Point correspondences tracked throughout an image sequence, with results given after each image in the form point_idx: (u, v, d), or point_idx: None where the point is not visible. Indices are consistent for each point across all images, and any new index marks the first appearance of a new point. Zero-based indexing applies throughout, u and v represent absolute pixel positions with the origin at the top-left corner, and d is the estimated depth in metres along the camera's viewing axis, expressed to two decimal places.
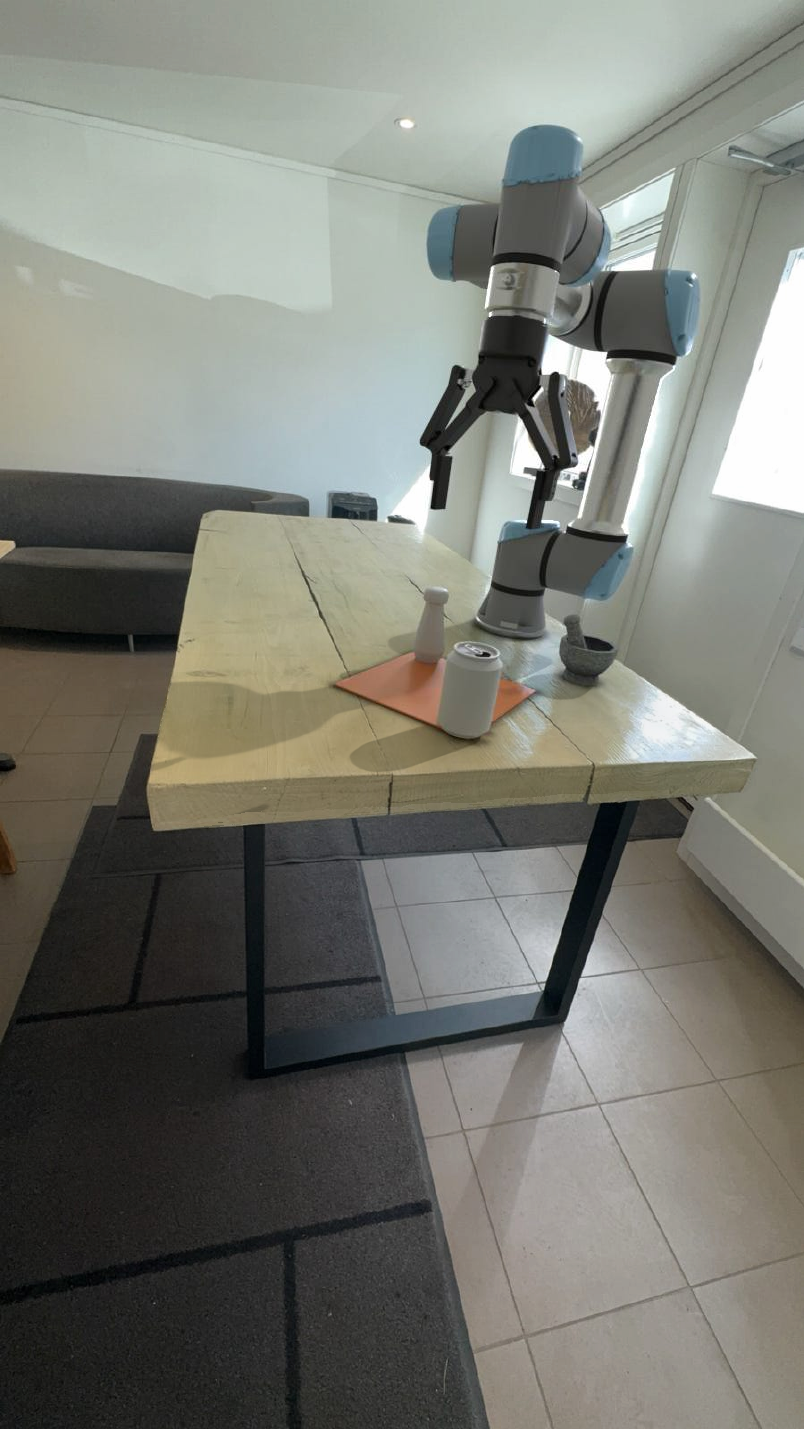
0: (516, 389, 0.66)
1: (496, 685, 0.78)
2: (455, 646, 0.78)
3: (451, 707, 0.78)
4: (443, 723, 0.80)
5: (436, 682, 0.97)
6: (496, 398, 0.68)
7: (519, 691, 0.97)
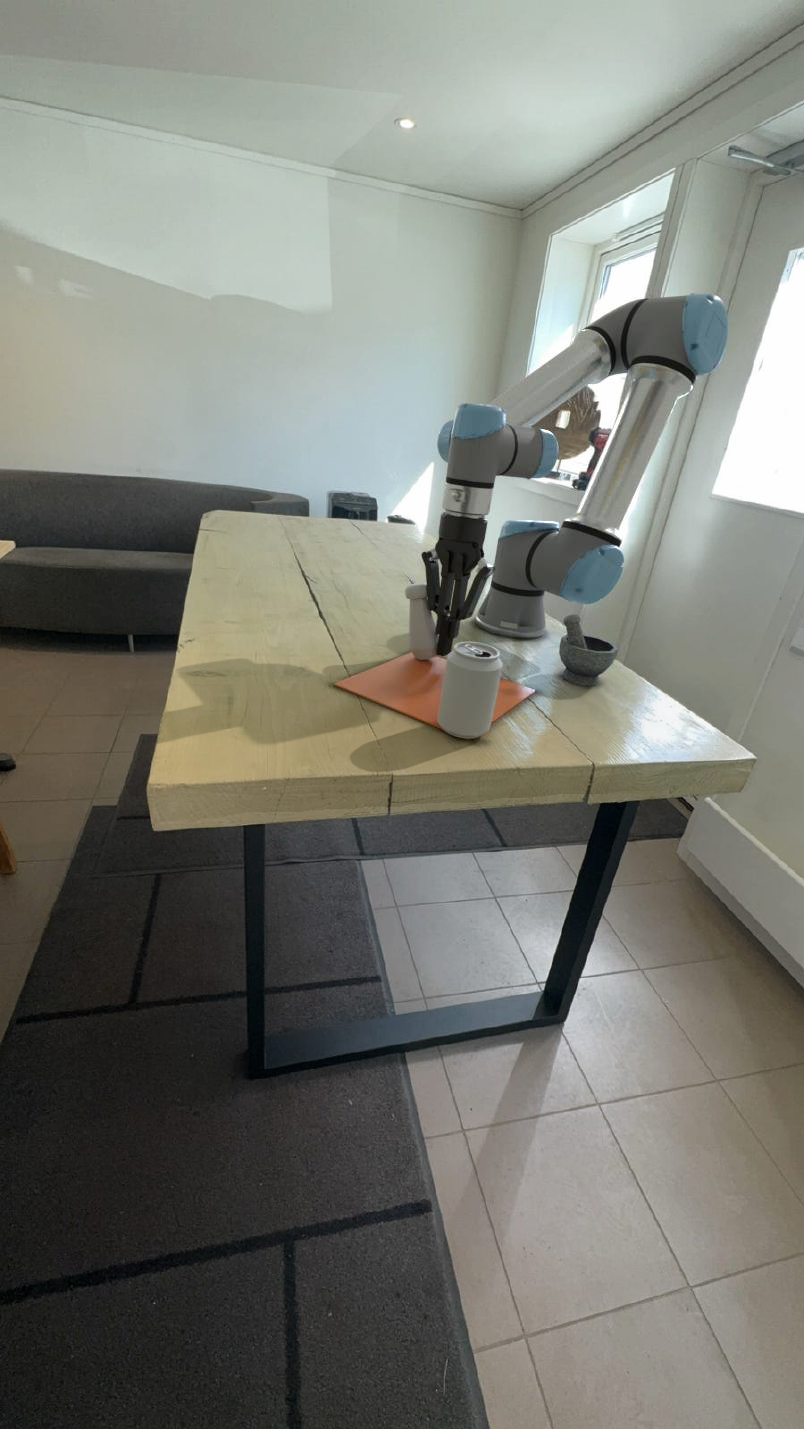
0: (461, 564, 0.94)
1: (496, 685, 0.78)
2: (455, 646, 0.78)
3: (451, 707, 0.78)
4: (443, 723, 0.80)
5: (436, 682, 0.97)
6: (452, 564, 0.96)
7: (519, 691, 0.97)
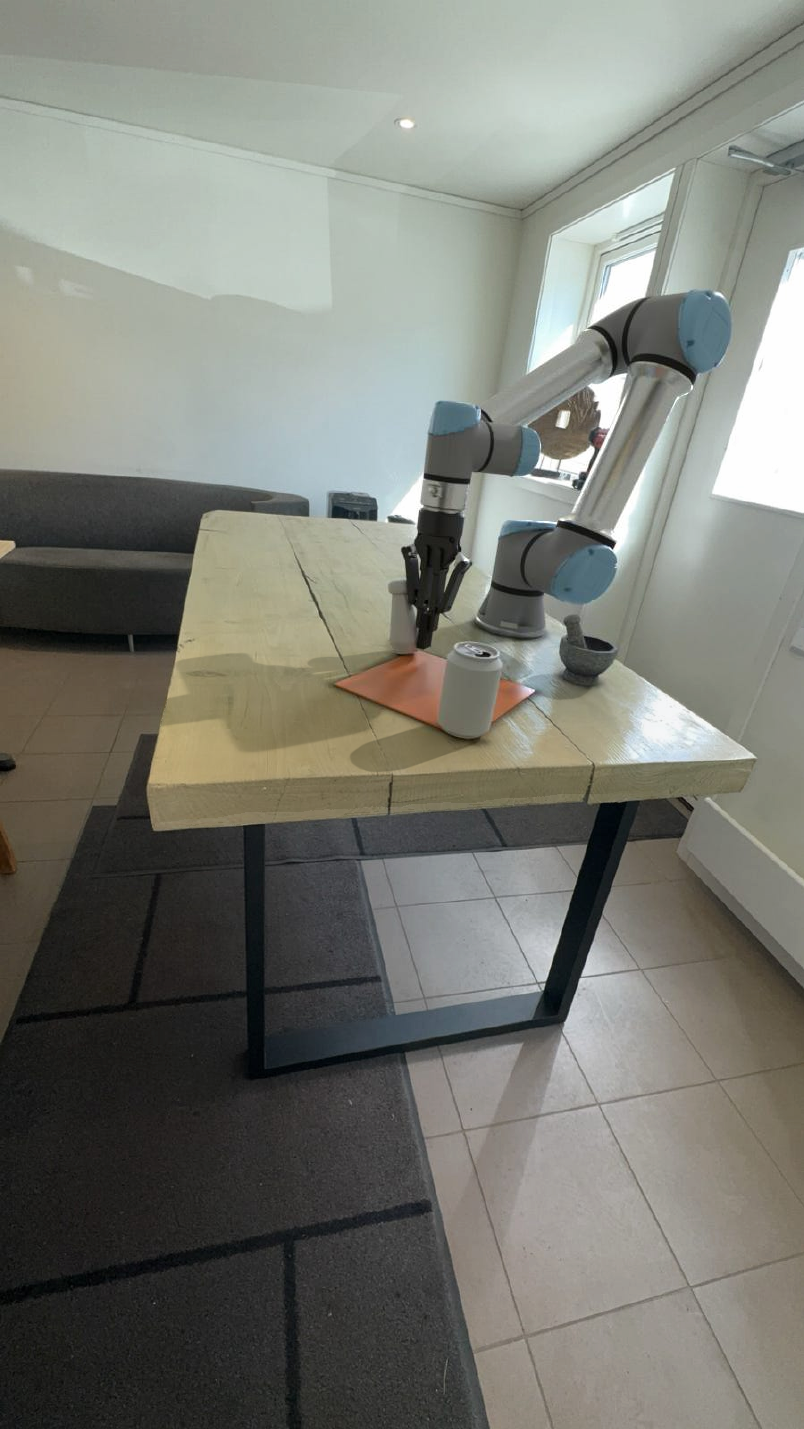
0: (439, 559, 0.96)
1: (496, 685, 0.78)
2: (455, 646, 0.78)
3: (451, 707, 0.78)
4: (443, 723, 0.80)
5: (436, 682, 0.97)
6: (430, 558, 0.98)
7: (519, 691, 0.97)
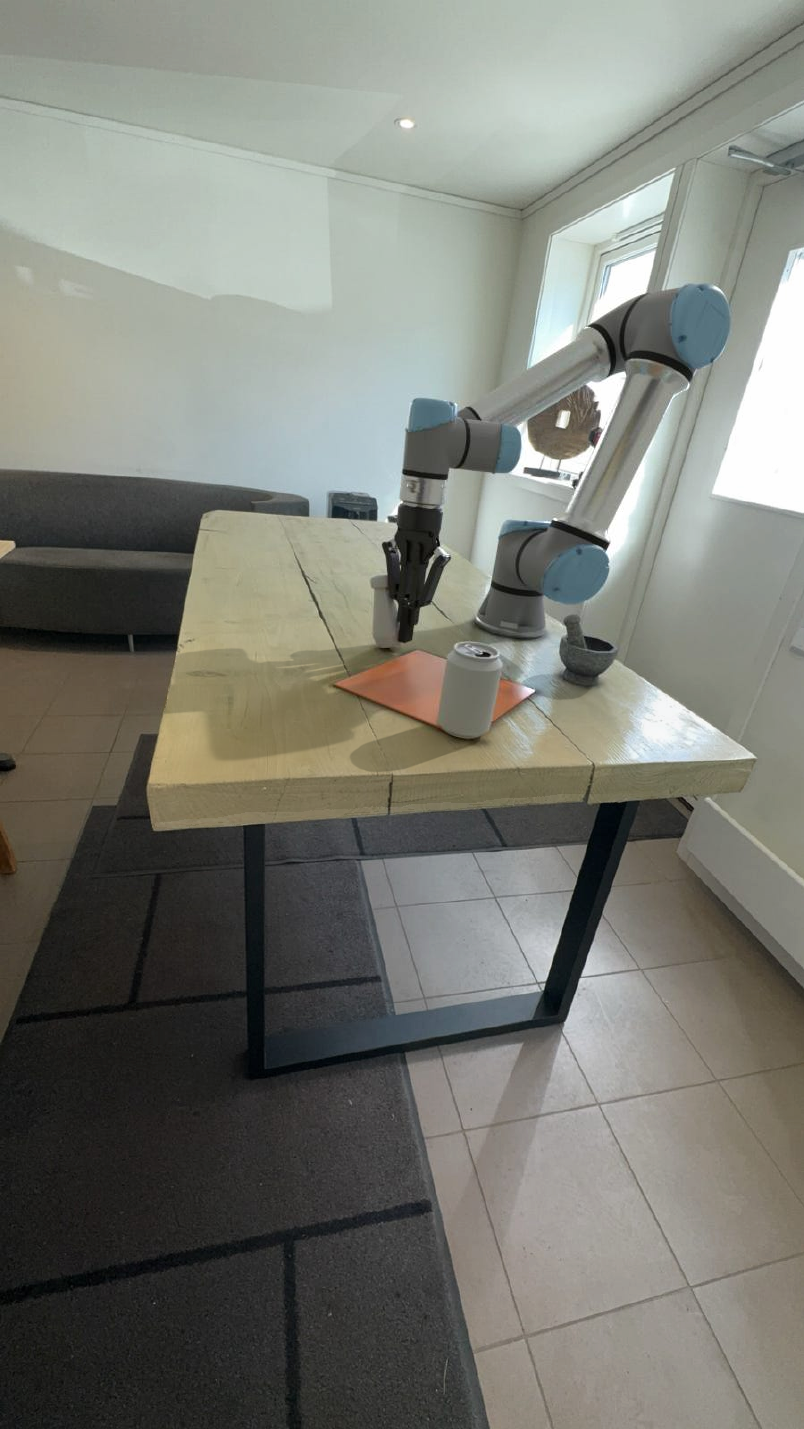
0: (418, 553, 0.98)
1: (496, 685, 0.78)
2: (455, 646, 0.78)
3: (451, 707, 0.78)
4: (443, 723, 0.80)
5: (436, 682, 0.97)
6: (410, 553, 0.99)
7: (519, 691, 0.97)
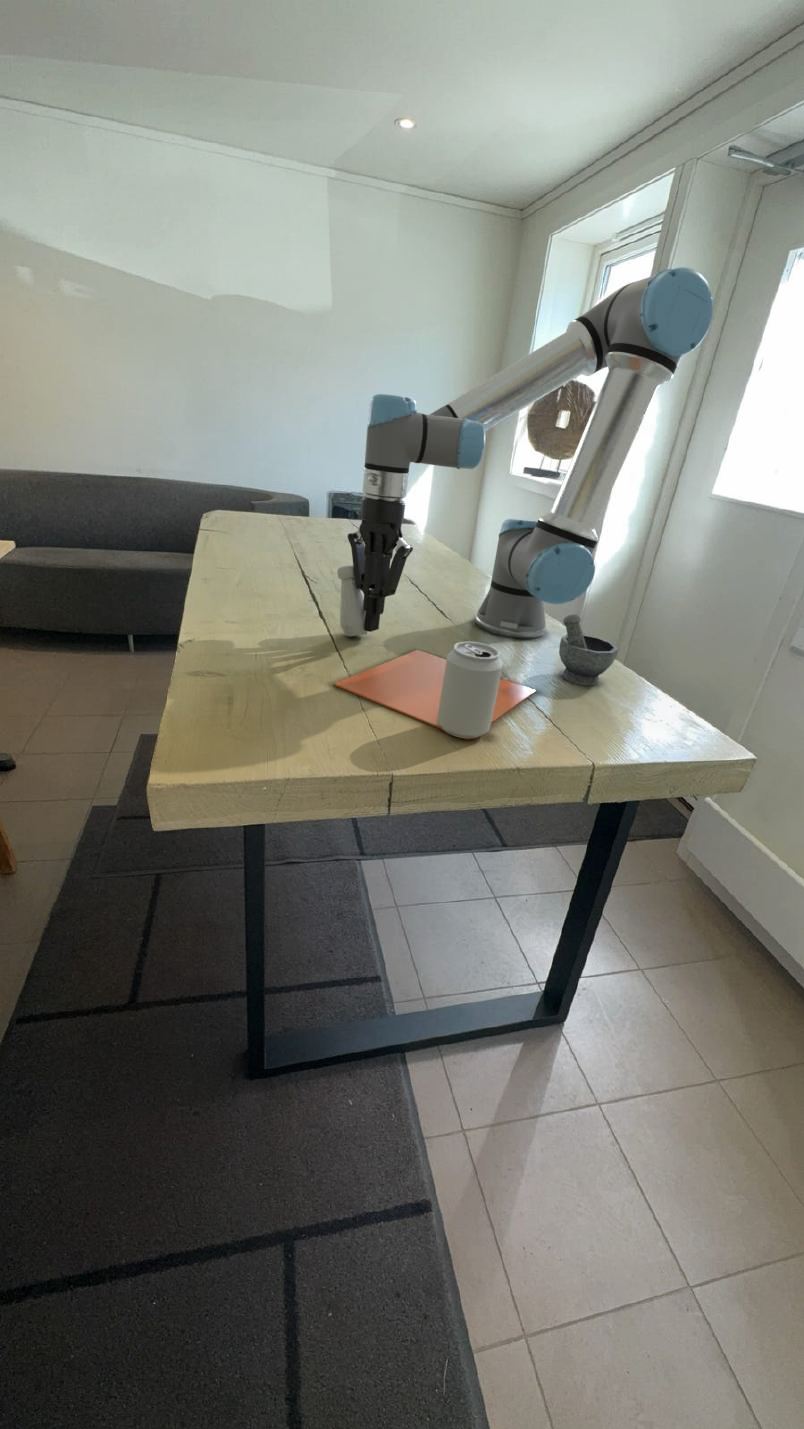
0: (381, 544, 1.01)
1: (496, 685, 0.78)
2: (455, 646, 0.78)
3: (451, 707, 0.78)
4: (443, 723, 0.80)
5: (436, 682, 0.97)
6: (374, 544, 1.03)
7: (519, 691, 0.97)
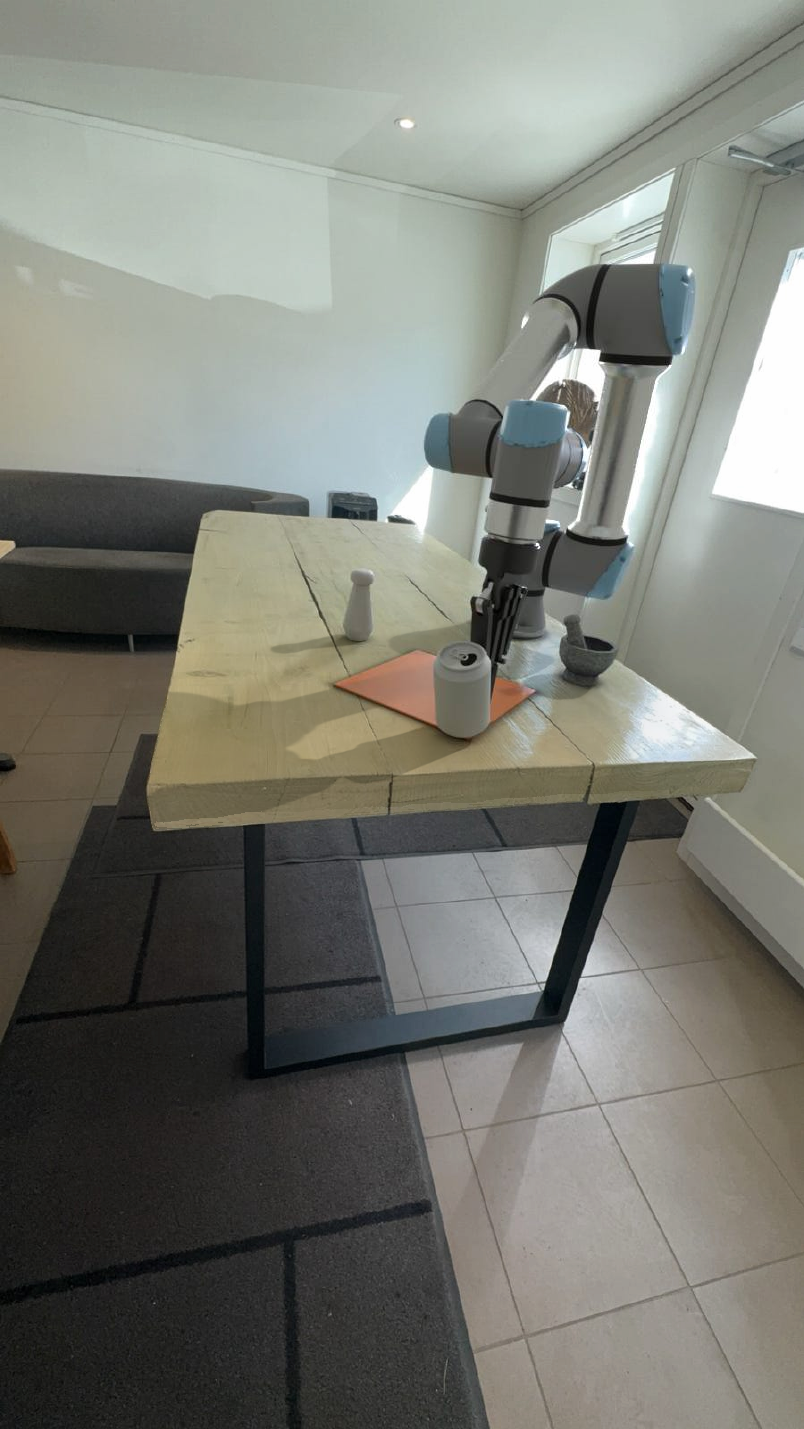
0: None
1: (487, 687, 0.75)
2: (439, 654, 0.75)
3: (445, 714, 0.77)
4: (441, 727, 0.80)
5: None
6: None
7: (519, 691, 0.97)
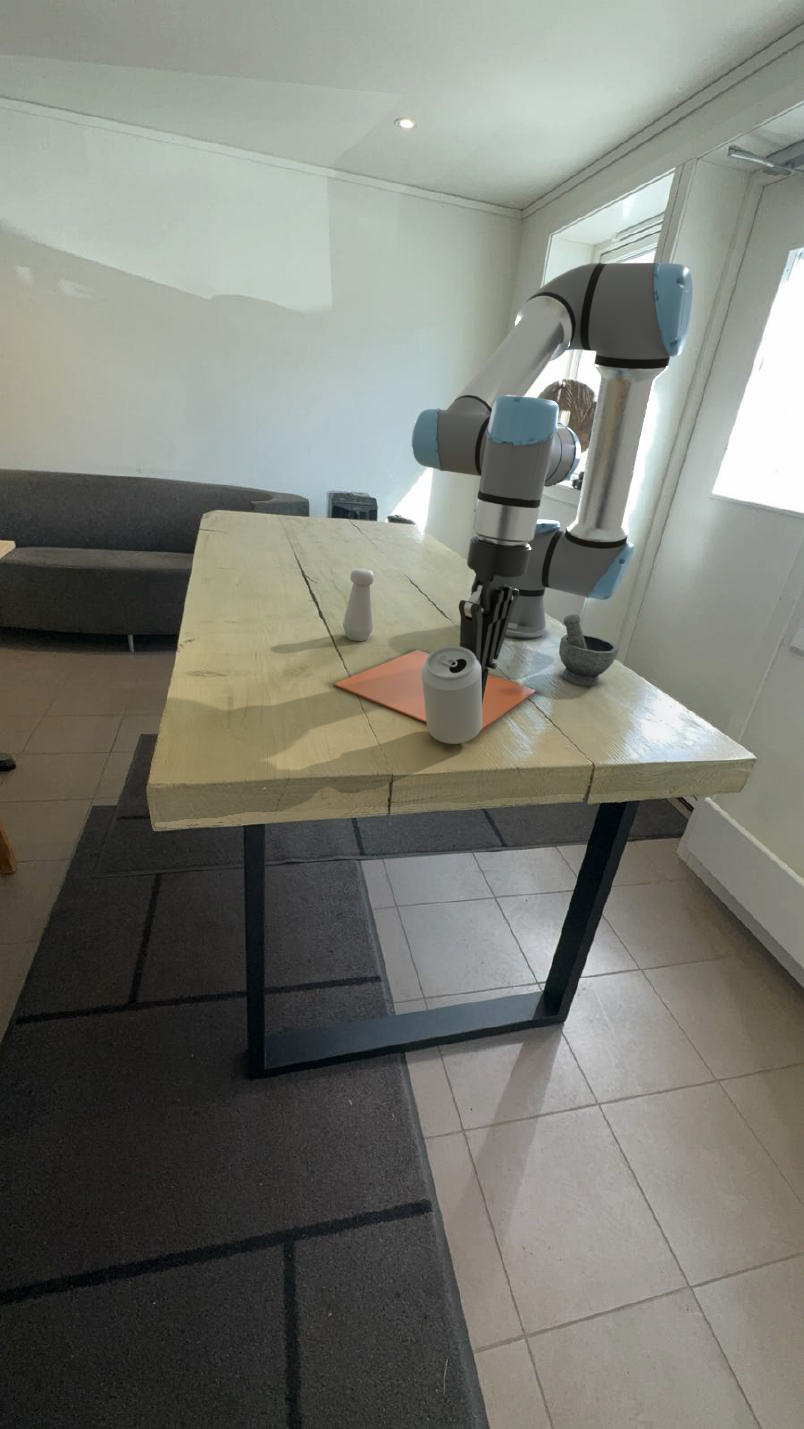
0: None
1: (478, 693, 0.73)
2: (427, 661, 0.73)
3: (436, 721, 0.75)
4: (432, 733, 0.78)
5: None
6: None
7: (519, 691, 0.97)
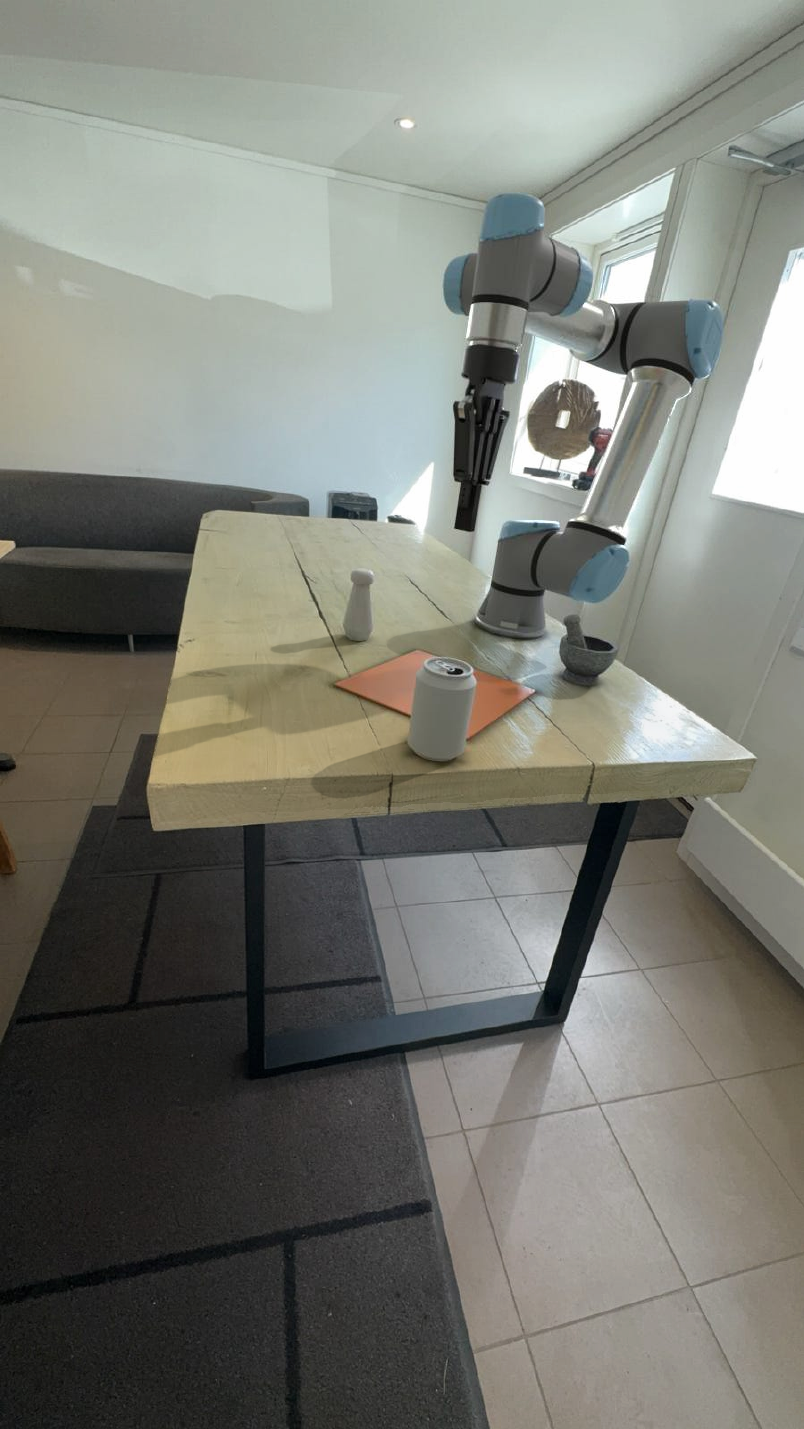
0: None
1: (470, 704, 0.72)
2: (425, 663, 0.72)
3: (422, 729, 0.72)
4: (415, 746, 0.74)
5: None
6: None
7: (519, 691, 0.97)
